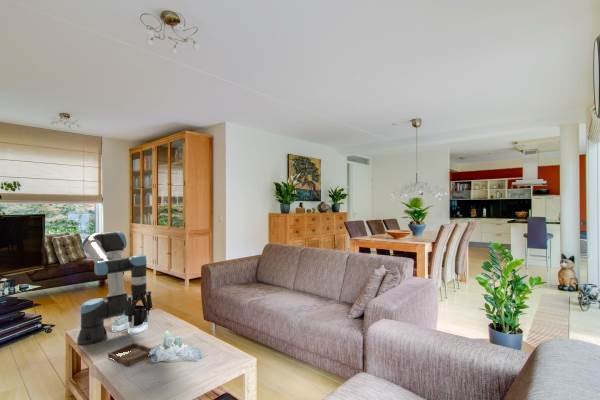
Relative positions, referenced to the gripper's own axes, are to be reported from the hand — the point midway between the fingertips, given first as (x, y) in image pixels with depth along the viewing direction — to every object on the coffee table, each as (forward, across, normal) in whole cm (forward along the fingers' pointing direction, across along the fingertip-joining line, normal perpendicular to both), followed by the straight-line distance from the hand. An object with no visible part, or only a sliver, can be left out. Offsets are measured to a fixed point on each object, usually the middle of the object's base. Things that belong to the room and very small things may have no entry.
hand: (138, 324), depth 174 cm
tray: (+15, -5, -1) cm, 16 cm away
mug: (+1, 0, 0) cm, 1 cm away
